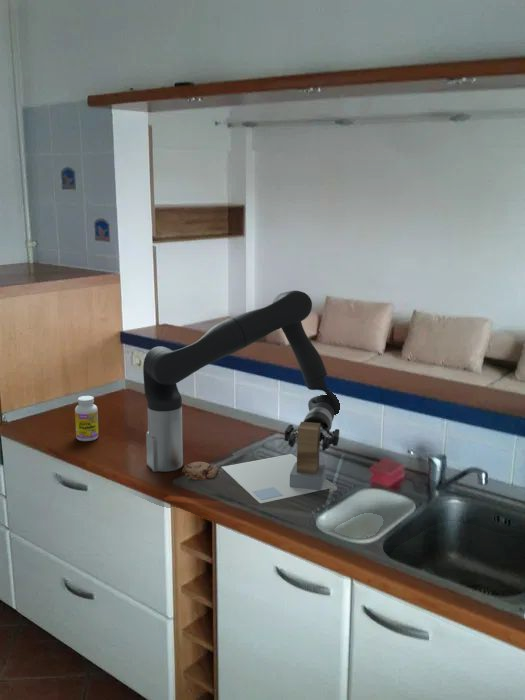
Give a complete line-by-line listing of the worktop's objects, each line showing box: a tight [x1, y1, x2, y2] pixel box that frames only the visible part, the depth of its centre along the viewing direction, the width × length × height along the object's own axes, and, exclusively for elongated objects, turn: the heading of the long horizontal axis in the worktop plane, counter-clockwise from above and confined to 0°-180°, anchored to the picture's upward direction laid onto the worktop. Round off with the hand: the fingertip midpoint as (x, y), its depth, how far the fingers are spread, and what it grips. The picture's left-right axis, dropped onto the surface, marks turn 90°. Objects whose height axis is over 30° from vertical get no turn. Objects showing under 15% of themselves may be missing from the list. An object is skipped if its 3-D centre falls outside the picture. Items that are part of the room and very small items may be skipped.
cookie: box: [181, 461, 220, 481], centre depth 181 cm, size 10×11×3 cm
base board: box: [221, 453, 338, 508], centre depth 178 cm, size 22×24×4 cm
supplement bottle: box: [74, 395, 99, 442], centre depth 205 cm, size 7×7×13 cm
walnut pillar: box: [296, 421, 321, 474], centre depth 173 cm, size 5×5×12 cm
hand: (307, 445), depth 171 cm, fingers open, 8 cm apart
